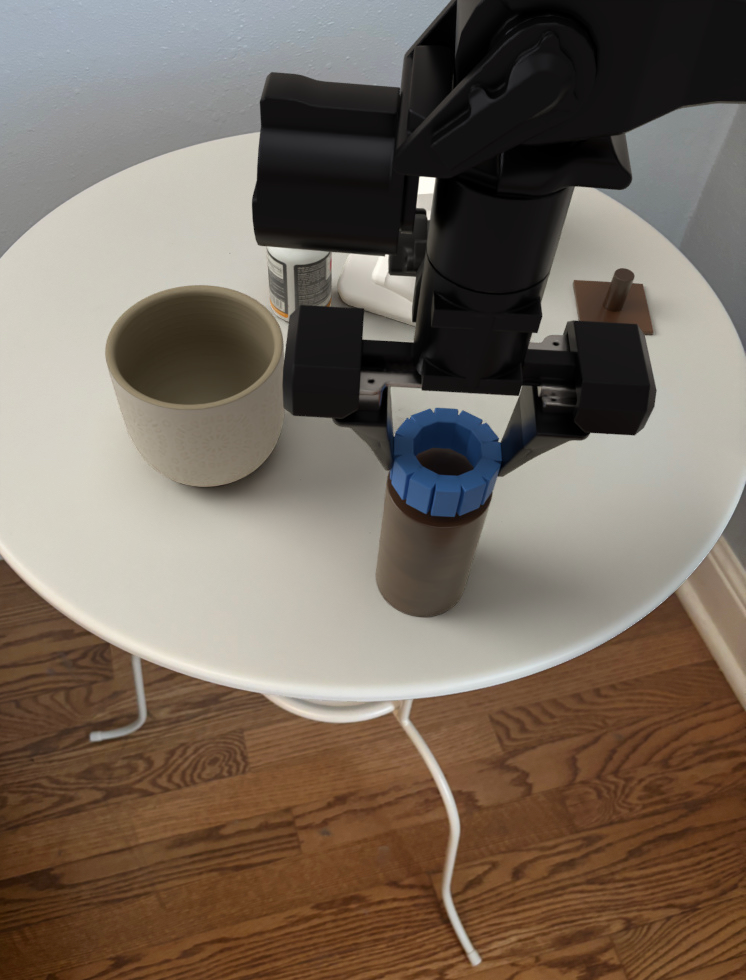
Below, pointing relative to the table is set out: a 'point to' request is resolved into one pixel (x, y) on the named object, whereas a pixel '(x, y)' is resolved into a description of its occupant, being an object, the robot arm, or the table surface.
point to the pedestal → (427, 545)
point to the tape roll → (447, 433)
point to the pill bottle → (298, 279)
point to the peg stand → (613, 301)
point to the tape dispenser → (382, 276)
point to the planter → (199, 382)
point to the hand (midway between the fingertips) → (444, 467)
